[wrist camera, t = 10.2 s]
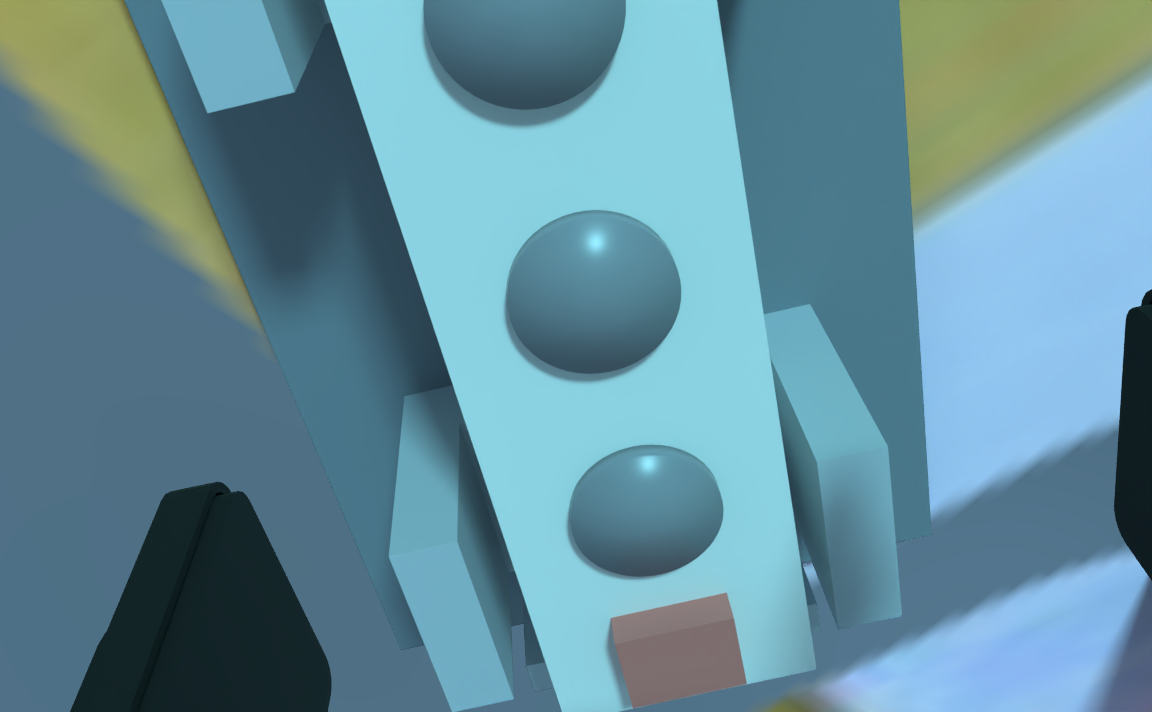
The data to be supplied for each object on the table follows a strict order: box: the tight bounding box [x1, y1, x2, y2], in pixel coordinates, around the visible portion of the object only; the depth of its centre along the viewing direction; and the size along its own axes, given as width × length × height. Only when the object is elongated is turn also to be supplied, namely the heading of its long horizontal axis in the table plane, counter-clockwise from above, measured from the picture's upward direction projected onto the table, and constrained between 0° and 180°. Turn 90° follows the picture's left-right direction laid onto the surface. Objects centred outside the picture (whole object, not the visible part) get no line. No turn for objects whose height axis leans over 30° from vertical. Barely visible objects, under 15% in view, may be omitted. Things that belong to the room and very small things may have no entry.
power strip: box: [324, 0, 816, 712], centre depth 17 cm, size 5×16×5 cm, turn 13°
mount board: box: [124, 0, 931, 712], centre depth 19 cm, size 13×22×6 cm, turn 13°
